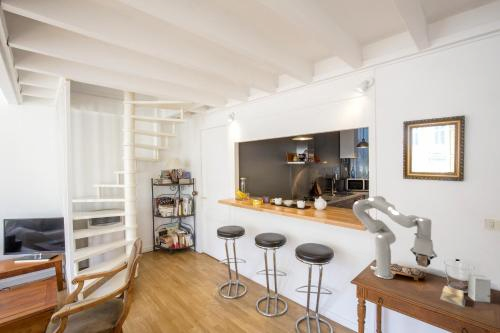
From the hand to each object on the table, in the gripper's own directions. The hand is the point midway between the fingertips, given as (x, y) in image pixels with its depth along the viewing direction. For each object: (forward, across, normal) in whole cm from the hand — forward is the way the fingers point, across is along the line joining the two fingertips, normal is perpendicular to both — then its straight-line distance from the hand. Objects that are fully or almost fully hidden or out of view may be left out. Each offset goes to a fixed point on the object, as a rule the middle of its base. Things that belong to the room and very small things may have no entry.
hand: (422, 263), depth 155 cm
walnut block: (+1, 0, 0) cm, 1 cm away
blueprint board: (+17, +16, -3) cm, 23 cm away
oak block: (+16, +16, -3) cm, 23 cm away
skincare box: (+17, +27, +9) cm, 33 cm away
